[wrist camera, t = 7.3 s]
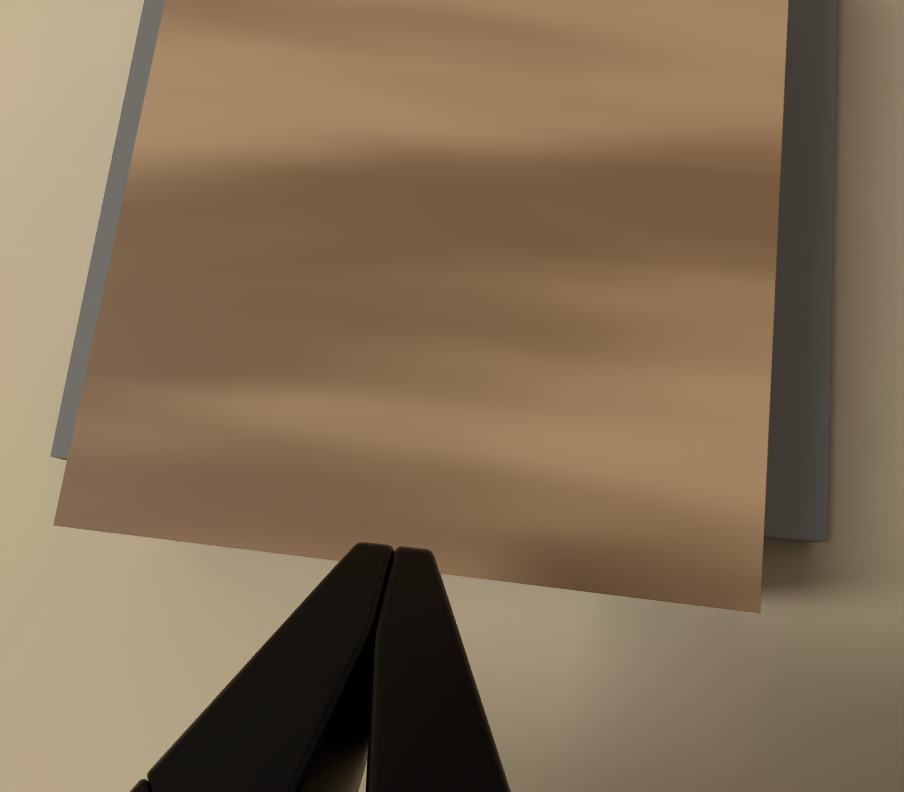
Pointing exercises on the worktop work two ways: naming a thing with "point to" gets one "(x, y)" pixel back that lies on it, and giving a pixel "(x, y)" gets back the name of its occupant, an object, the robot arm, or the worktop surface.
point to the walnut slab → (449, 290)
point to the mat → (796, 285)
